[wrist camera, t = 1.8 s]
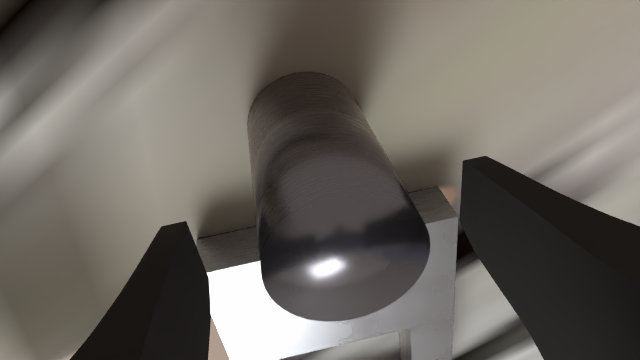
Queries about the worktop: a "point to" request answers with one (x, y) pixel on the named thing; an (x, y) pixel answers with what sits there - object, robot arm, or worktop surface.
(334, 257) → the pin
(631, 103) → the worktop surface
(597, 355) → the robot arm
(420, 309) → the upper end link
